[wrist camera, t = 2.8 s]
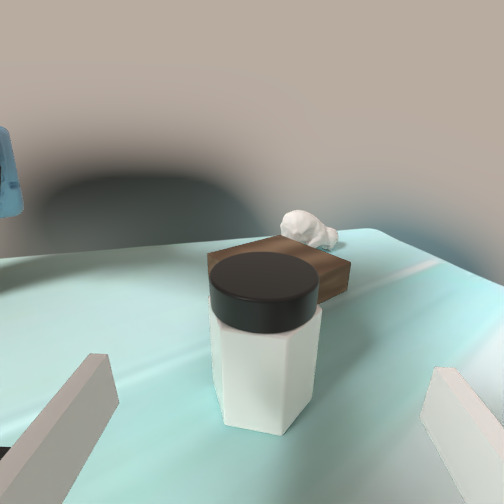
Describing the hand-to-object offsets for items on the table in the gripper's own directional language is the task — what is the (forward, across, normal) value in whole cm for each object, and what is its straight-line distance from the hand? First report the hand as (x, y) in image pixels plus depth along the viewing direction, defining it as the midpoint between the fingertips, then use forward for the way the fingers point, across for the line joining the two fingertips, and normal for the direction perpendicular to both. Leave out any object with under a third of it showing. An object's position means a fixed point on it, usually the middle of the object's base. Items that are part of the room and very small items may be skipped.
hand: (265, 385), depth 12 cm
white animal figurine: (+44, +8, -12) cm, 46 cm away
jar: (+10, 0, -12) cm, 16 cm away
